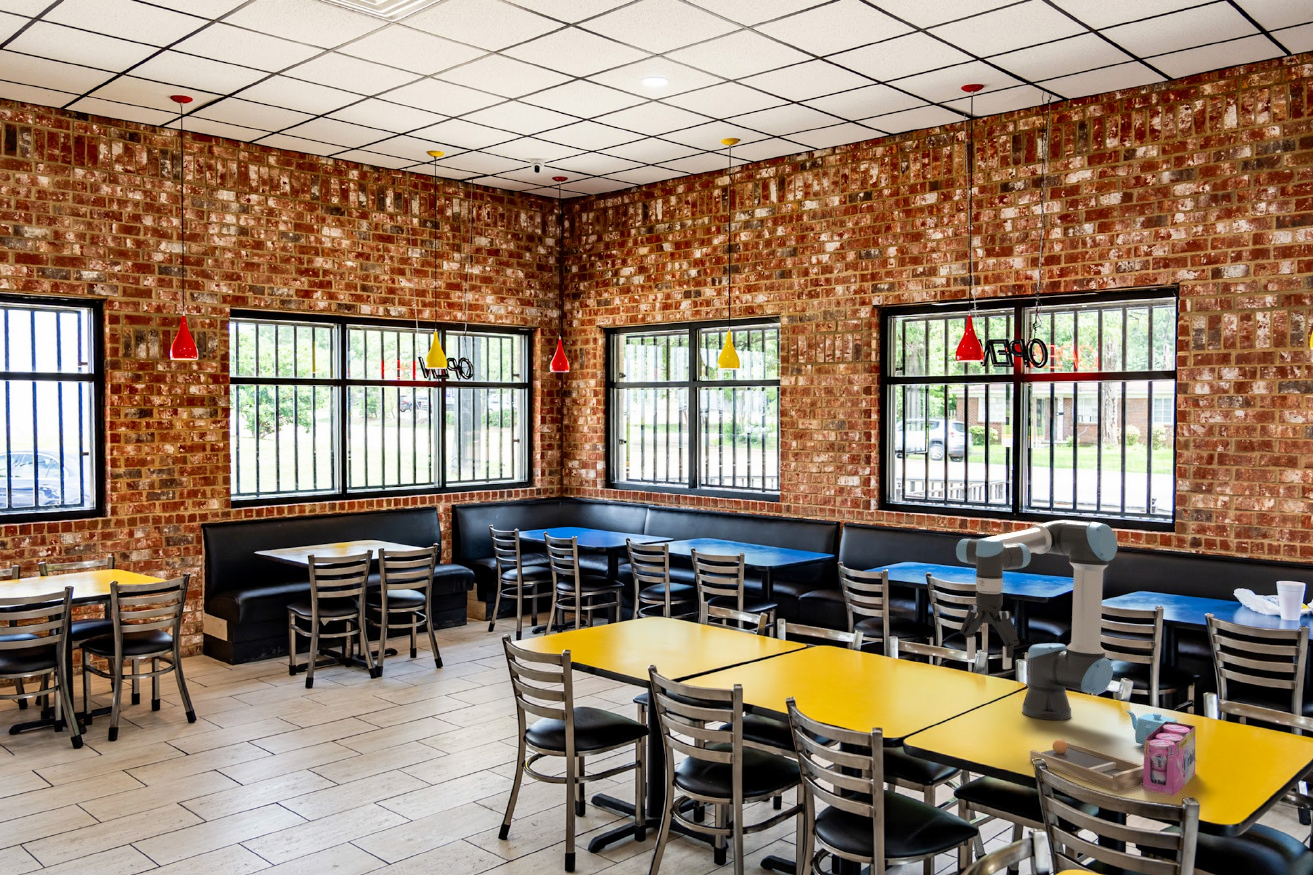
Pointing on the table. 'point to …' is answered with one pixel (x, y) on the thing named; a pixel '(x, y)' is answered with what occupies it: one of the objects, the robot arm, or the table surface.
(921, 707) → the table surface
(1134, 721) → the teapot
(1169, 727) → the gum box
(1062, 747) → the ball
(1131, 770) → the lane rails
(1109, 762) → the mat
